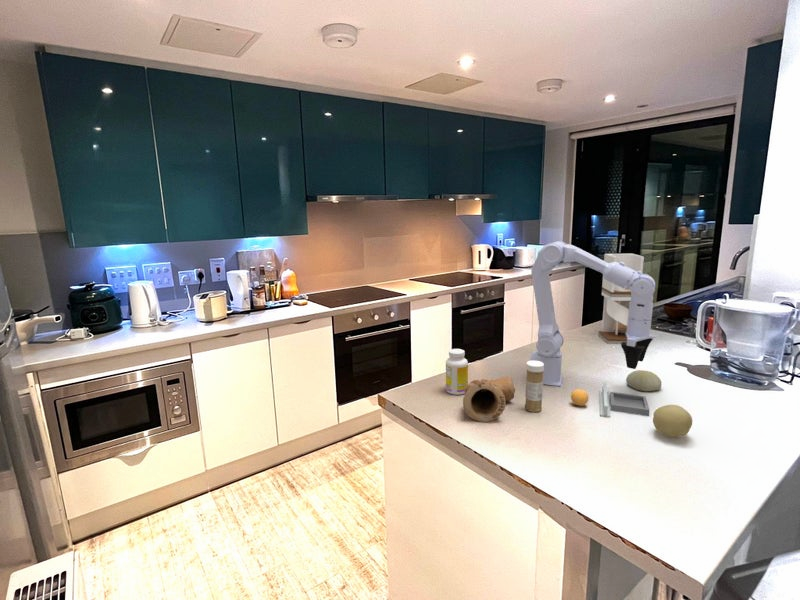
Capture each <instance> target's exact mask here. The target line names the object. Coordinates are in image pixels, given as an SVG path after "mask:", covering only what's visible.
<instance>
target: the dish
mask: <svg viewBox="0 0 800 600" xmlns="http://www.w3.org/2000/svg"><path fill="white" fill-rule="evenodd" d="M609 405H611V406H610V411H613V412H618V413H619V412H620V413H626V414H633V415H634V414H635V415H639V414H640V415H639V416H645V415H646V417H650V412H651V411H650V407H649V403H648V398H647V397H646V395H641V394H640V395H639V394H632V393H631V394H630V393H623V392H616V391H609Z"/></svg>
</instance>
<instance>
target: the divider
mask: <svg viewBox="0 0 800 600" xmlns="http://www.w3.org/2000/svg"><path fill="white" fill-rule="evenodd" d="M598 396H599V416H600V417H604V418H611V406H610V393H609V392H608V391H607V384H606V383H605V382H604V383H602V391H601V390H599V395H598Z"/></svg>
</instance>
